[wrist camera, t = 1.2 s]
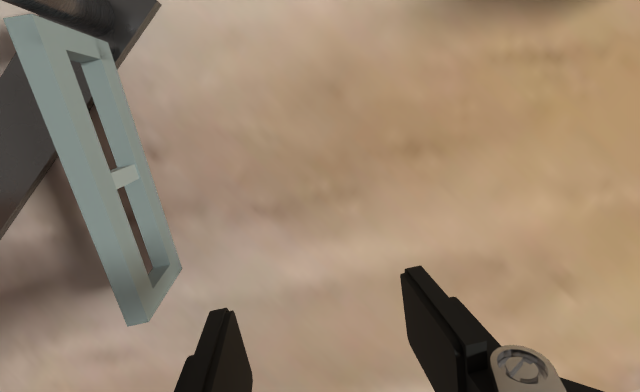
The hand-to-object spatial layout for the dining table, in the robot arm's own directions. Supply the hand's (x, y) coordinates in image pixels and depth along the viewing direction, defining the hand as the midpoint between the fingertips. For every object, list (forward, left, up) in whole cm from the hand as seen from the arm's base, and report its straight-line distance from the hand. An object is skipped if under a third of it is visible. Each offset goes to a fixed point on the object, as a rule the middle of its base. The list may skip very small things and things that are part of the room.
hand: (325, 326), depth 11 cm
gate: (-12, -7, -20) cm, 24 cm away
